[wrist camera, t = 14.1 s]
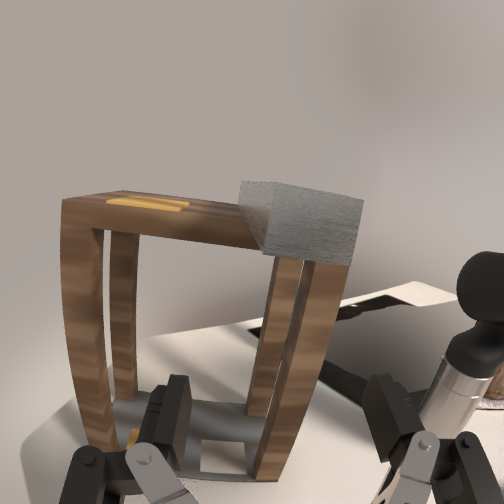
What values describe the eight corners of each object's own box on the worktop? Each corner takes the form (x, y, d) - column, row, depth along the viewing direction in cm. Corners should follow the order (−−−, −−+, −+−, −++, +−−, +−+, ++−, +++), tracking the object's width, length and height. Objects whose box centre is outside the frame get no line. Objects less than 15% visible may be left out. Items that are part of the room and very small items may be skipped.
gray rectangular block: (350, 266, 13) (363, 200, 12) (262, 254, 13) (275, 182, 12) (270, 210, 36) (274, 186, 36) (237, 205, 36) (241, 181, 35)
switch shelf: (277, 481, 30) (356, 236, 23) (93, 459, 27) (62, 196, 20) (263, 407, 46) (305, 213, 39) (121, 389, 43) (122, 189, 36)
